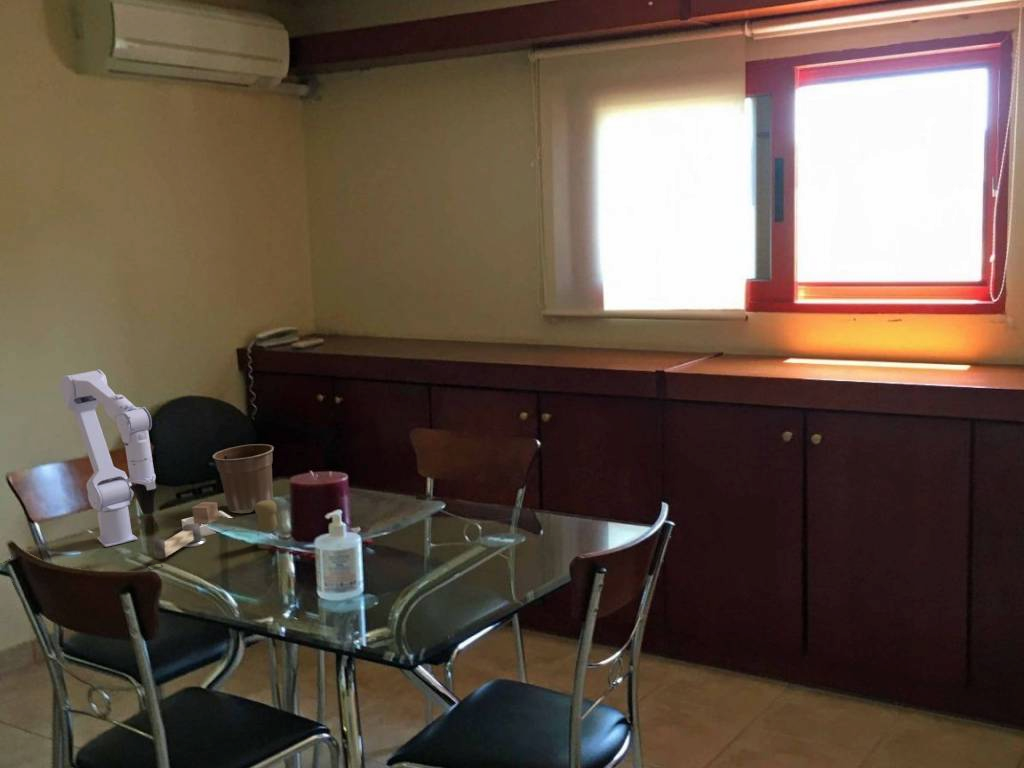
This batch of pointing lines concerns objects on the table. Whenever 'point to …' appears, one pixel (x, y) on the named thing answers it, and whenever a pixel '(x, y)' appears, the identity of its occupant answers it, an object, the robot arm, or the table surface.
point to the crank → (177, 541)
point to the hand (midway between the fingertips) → (147, 512)
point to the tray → (203, 529)
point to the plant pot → (246, 475)
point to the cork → (266, 516)
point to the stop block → (205, 513)
